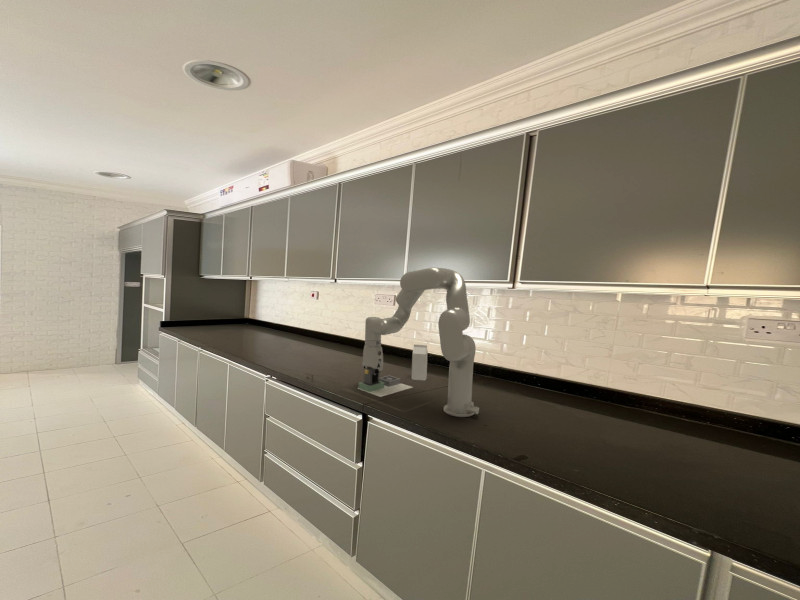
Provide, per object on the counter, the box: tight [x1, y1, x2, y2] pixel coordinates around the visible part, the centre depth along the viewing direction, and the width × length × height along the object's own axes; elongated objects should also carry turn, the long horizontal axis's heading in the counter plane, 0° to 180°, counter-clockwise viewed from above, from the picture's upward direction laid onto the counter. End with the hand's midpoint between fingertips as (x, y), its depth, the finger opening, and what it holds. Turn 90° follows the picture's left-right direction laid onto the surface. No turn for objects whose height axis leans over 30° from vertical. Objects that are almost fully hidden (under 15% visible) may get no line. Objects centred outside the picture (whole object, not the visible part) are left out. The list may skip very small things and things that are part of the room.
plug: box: [363, 367, 381, 385], centre depth 166 cm, size 4×7×8 cm, turn 137°
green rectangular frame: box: [358, 381, 384, 393], centre depth 166 cm, size 8×10×3 cm
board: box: [357, 374, 413, 398], centre depth 167 cm, size 16×22×4 cm
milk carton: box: [411, 344, 429, 382], centre depth 186 cm, size 7×7×19 cm
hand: (371, 381), depth 166 cm, fingers closed on plug, 3 cm apart
